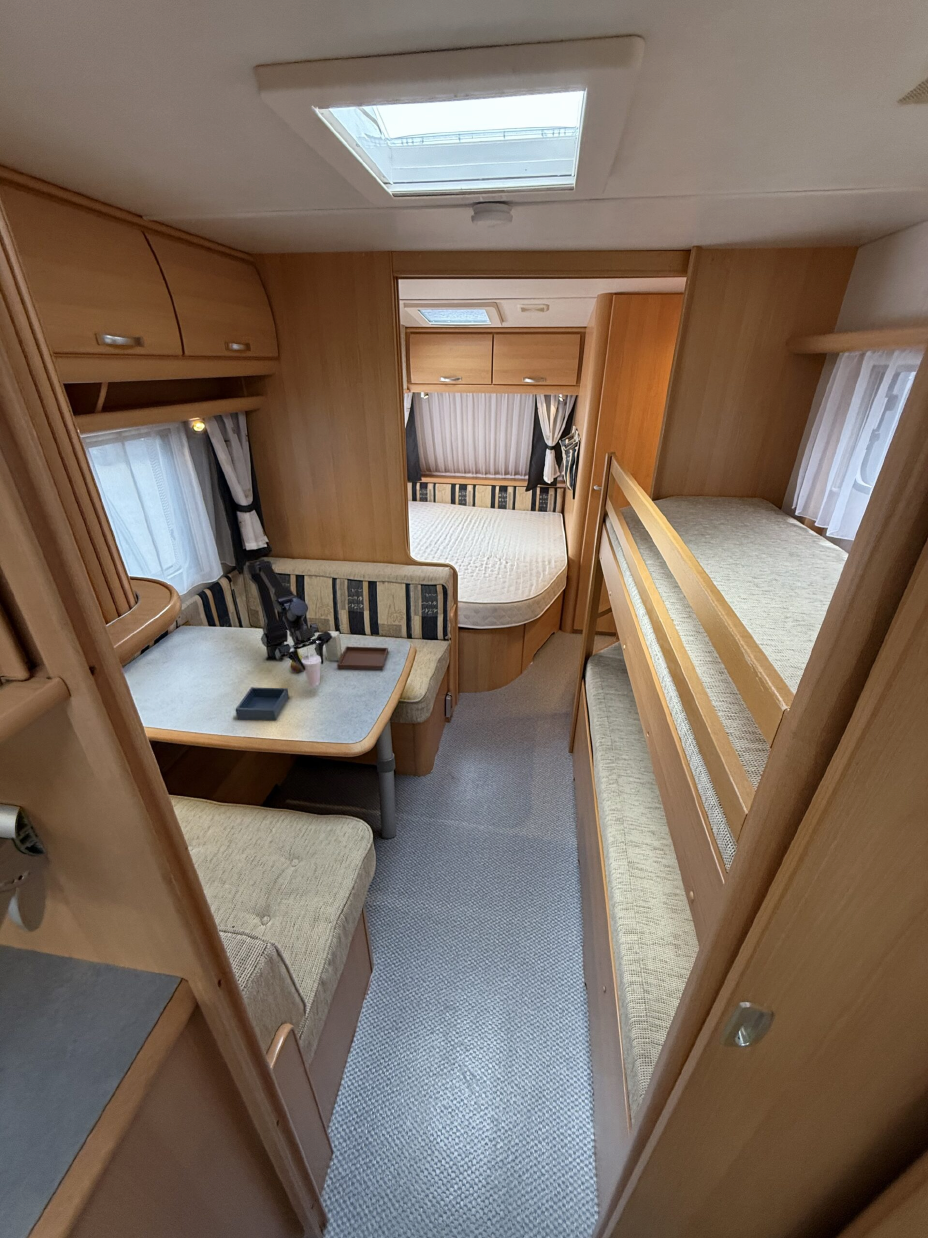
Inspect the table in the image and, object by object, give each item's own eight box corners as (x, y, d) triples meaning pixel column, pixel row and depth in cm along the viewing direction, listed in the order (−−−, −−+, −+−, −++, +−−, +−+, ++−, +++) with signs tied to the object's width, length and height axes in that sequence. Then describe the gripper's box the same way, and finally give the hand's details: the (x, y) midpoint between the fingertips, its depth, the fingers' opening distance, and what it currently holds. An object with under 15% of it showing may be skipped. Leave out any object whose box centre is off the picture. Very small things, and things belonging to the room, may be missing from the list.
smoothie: (302, 681, 172) (297, 646, 165) (320, 676, 175) (316, 641, 168) (307, 690, 167) (303, 654, 161) (326, 684, 170) (322, 649, 164)
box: (342, 655, 198) (340, 631, 193) (339, 661, 194) (336, 636, 189) (329, 655, 198) (327, 630, 193) (326, 660, 194) (323, 635, 190)
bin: (237, 719, 160) (235, 709, 158) (253, 696, 171) (251, 687, 170) (275, 720, 160) (274, 710, 158) (289, 697, 171) (287, 688, 170)
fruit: (309, 669, 188) (306, 642, 183) (297, 676, 184) (293, 648, 178) (300, 665, 191) (296, 637, 185) (287, 671, 187) (283, 643, 181)
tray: (337, 669, 189) (337, 664, 188) (346, 650, 202) (346, 646, 201) (382, 670, 189) (382, 665, 188) (388, 652, 201) (388, 647, 200)
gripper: (273, 625, 157) (291, 669, 155) (327, 610, 168) (345, 651, 166) (267, 637, 166) (285, 679, 164) (319, 622, 177) (336, 661, 175)
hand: (313, 667), depth 167 cm, fingers closed on smoothie, 6 cm apart
